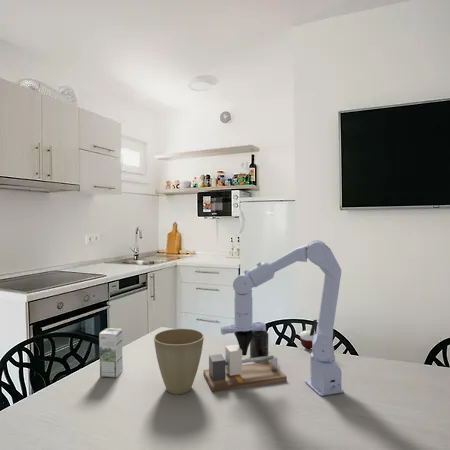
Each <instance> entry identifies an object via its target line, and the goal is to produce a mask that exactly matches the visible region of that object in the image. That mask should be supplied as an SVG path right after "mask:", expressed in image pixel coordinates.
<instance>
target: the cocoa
mask: <svg viewBox="0 0 450 450" xmlns="http://www.w3.org/2000/svg"><path fill="white" fill-rule="evenodd" d="M317 324H318V319H313V320H312V324H311V329H310V330H303V331H301V332H300V333H299V337H300V344H301V346H302V347H303V348H305V349H308V350H309V349H311V350H312V337H313V335H314V333H315V332H316V331H315V330H316V328H317Z"/></svg>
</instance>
